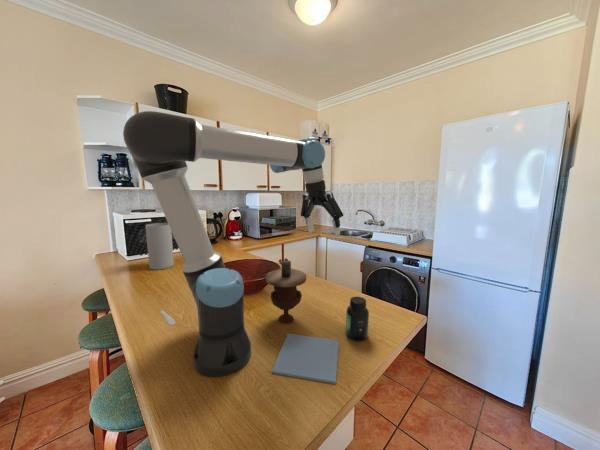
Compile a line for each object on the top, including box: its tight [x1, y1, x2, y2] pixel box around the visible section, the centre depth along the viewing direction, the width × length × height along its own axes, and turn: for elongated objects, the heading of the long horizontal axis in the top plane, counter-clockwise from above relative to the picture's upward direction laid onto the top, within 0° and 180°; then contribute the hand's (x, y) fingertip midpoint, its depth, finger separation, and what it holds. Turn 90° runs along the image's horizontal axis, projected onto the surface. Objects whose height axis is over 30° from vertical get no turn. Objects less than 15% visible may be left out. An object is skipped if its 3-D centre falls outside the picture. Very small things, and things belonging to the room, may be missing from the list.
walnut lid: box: [265, 259, 307, 287], centre depth 82 cm, size 14×14×6 cm
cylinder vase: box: [145, 222, 175, 271], centre depth 138 cm, size 12×12×25 cm
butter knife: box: [159, 310, 176, 326], centre depth 90 cm, size 1×27×3 cm
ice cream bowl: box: [270, 286, 303, 324], centre depth 84 cm, size 11×11×15 cm
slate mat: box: [271, 333, 340, 385], centre depth 66 cm, size 16×16×1 cm
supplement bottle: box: [345, 296, 370, 342], centre depth 75 cm, size 7×7×12 cm
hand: (323, 233), depth 96 cm, fingers open, 13 cm apart
